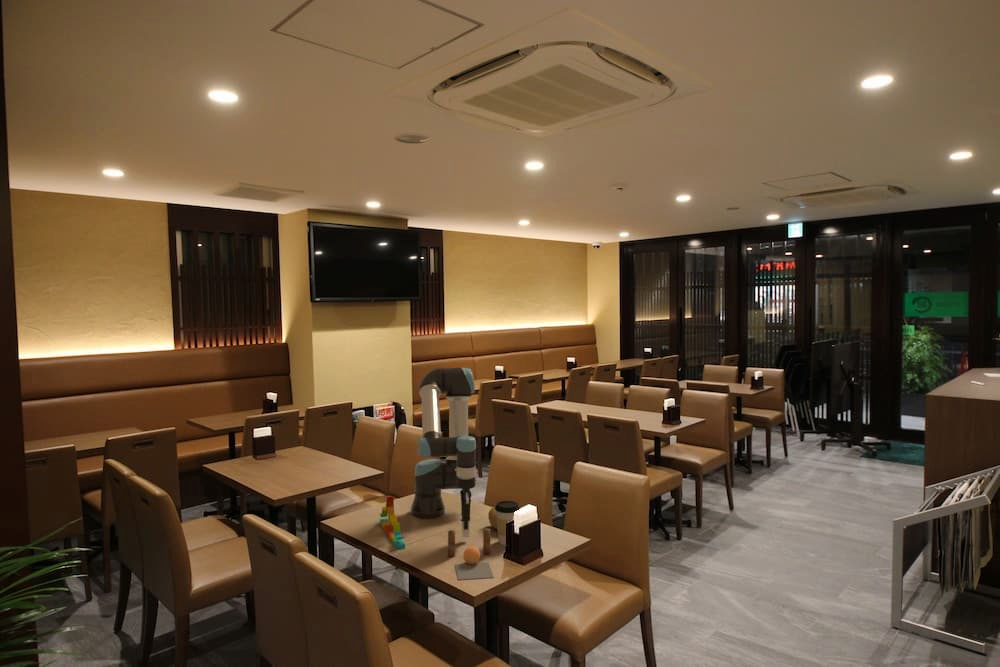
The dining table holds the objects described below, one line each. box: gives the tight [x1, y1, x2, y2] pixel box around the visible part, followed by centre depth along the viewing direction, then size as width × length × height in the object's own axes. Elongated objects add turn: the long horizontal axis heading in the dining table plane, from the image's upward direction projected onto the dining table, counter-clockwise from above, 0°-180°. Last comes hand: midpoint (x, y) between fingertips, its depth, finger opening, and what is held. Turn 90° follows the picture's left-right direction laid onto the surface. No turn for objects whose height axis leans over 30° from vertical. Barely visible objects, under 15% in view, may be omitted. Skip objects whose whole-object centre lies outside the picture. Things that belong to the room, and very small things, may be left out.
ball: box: [462, 545, 481, 564], centre depth 209 cm, size 6×6×6 cm
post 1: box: [447, 529, 456, 558], centre depth 215 cm, size 3×3×9 cm
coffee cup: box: [494, 500, 521, 546], centre depth 229 cm, size 10×10×15 cm
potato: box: [487, 506, 497, 530], centre depth 242 cm, size 10×14×8 cm
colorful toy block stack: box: [379, 496, 406, 550], centre depth 235 cm, size 30×3×15 cm, turn 24°
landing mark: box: [454, 562, 495, 581], centre depth 202 cm, size 12×12×1 cm
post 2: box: [482, 528, 491, 556], centre depth 217 cm, size 3×3×9 cm
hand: (465, 536), depth 229 cm, fingers closed
